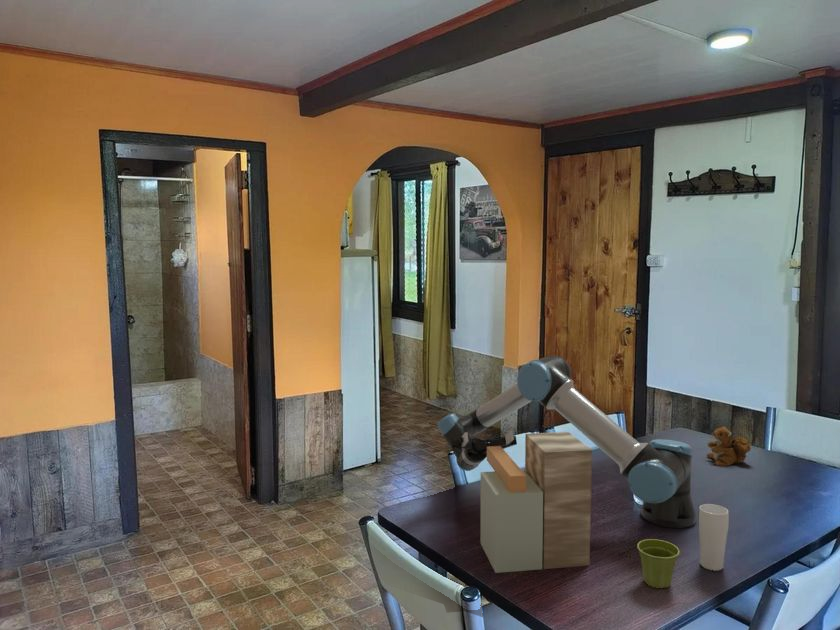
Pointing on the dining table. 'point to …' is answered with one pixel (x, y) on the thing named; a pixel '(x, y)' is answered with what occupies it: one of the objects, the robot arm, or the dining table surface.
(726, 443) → the stuffed squirrel
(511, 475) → the orange bar
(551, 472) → the tall stand
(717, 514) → the drinking glass
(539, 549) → the sage green pillar
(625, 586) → the dining table surface
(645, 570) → the plant pot
